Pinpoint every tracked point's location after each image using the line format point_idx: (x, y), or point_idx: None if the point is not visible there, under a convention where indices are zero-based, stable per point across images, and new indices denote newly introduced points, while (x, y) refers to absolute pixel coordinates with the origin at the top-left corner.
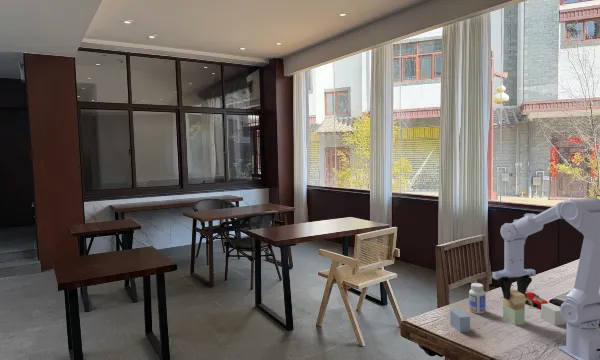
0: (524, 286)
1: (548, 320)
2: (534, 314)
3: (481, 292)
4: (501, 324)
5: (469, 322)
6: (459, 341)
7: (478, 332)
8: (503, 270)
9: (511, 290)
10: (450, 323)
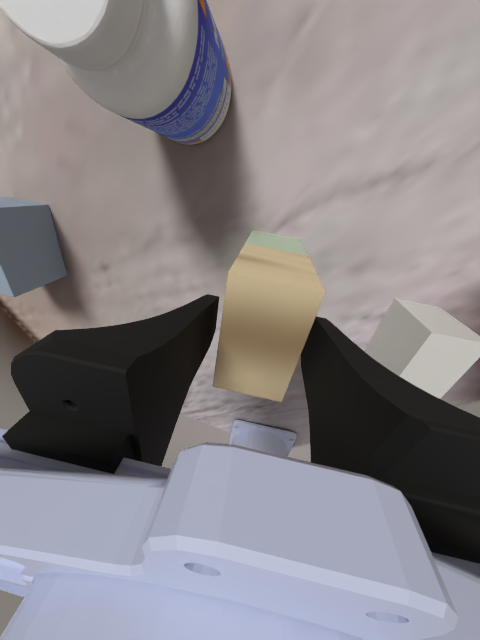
0: (310, 439)
1: (377, 335)
2: (415, 260)
3: (118, 86)
4: (199, 278)
5: (35, 286)
6: (20, 311)
7: (91, 292)
8: (33, 554)
9: (272, 319)
10: (3, 197)
